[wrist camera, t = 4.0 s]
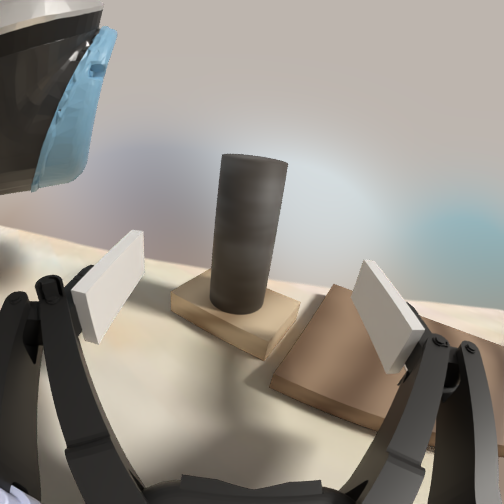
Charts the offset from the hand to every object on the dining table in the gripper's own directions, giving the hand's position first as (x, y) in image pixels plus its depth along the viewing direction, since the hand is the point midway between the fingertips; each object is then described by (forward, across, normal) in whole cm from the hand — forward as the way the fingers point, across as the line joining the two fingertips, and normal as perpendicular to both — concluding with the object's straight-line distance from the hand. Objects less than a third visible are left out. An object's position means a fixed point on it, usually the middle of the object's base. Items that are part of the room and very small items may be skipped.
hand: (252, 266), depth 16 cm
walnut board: (-2, +16, -7) cm, 18 cm away
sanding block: (+5, -1, -8) cm, 9 cm away
